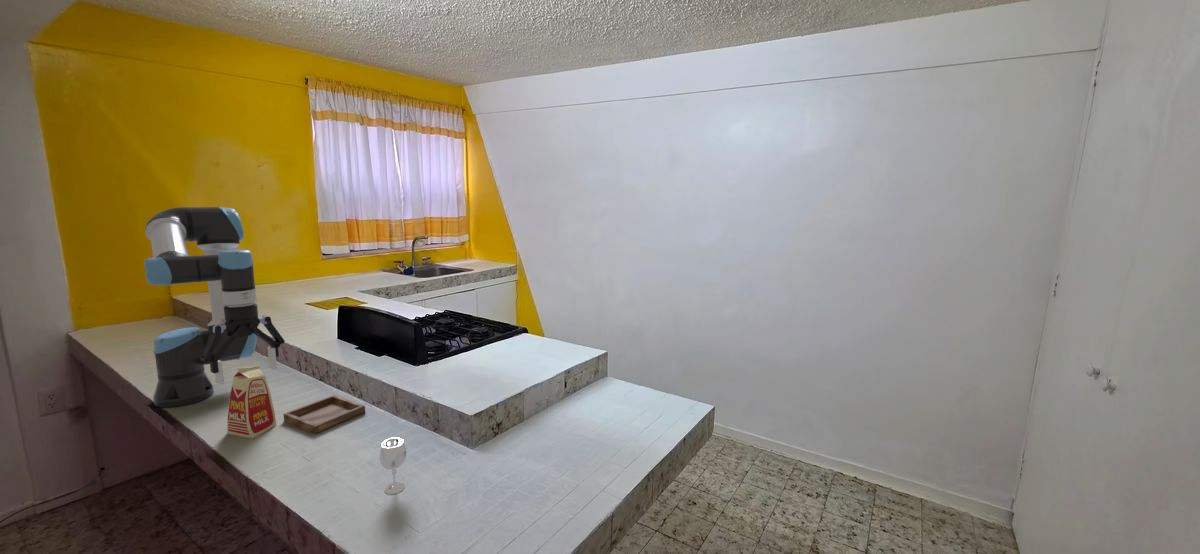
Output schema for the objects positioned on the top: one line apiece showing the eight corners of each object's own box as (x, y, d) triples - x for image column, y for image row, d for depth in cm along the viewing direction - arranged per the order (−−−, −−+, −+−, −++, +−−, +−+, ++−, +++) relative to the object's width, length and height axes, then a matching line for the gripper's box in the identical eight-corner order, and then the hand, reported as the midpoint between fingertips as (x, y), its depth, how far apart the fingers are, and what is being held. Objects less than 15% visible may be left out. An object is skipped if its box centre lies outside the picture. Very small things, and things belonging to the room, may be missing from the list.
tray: (284, 421, 141) (283, 413, 140) (334, 401, 155) (333, 394, 154) (315, 434, 133) (315, 426, 133) (365, 412, 148) (364, 405, 147)
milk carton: (251, 438, 130) (244, 372, 127) (225, 434, 132) (217, 368, 129) (279, 423, 139) (273, 361, 136) (254, 419, 141) (248, 358, 138)
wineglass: (386, 481, 113) (384, 436, 111) (410, 480, 113) (408, 436, 111) (377, 496, 107) (375, 449, 105) (402, 495, 107) (400, 448, 106)
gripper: (192, 314, 117) (202, 392, 120) (294, 298, 139) (299, 364, 142) (178, 311, 120) (188, 387, 123) (279, 295, 142) (285, 360, 145)
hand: (247, 375), depth 133 cm, fingers open, 13 cm apart
